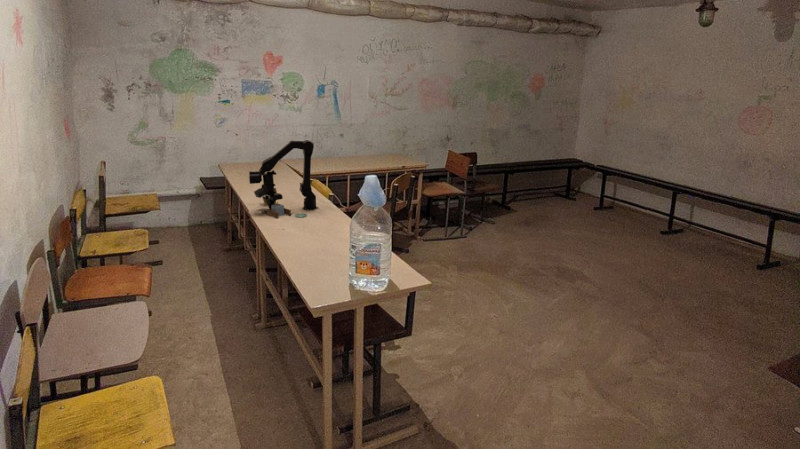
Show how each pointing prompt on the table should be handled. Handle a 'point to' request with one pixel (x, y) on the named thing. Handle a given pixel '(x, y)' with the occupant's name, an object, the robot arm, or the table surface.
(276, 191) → the flower pot
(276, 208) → the block
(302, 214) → the coaster
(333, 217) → the table surface
